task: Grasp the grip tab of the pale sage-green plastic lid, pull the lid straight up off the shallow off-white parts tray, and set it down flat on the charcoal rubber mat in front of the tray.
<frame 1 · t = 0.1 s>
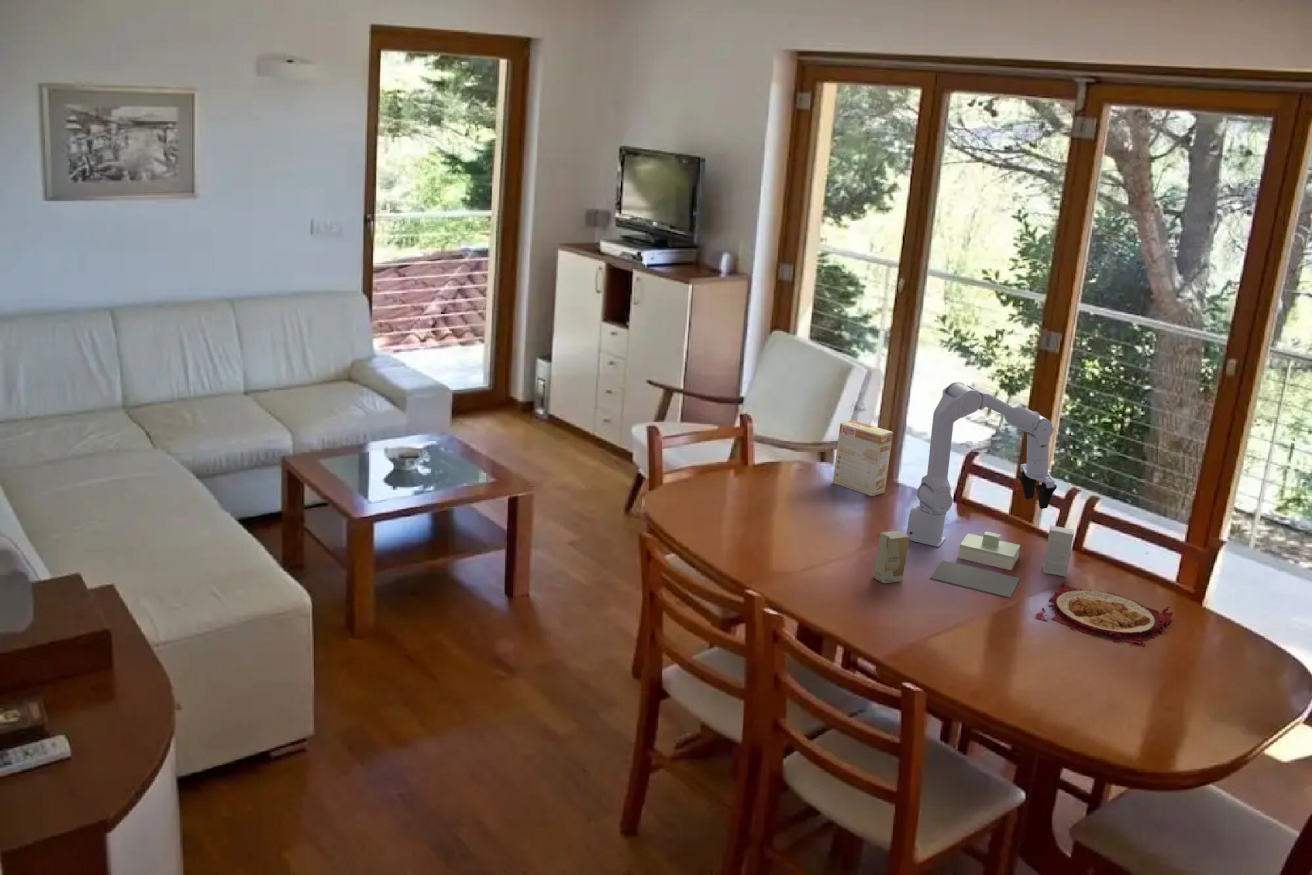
hand: (1036, 503, 337), 11 cm above the table, tool pointing down, fingers open, 7 cm apart
parts tray: (988, 558, 323), on the table
skincare box: (1053, 572, 317), on the table
skincare box 2: (887, 580, 304), on the table
coffeecake box: (858, 488, 371), on the table
plate with food: (1103, 621, 292), on the table
mat: (975, 579, 308), on the table
lid: (989, 547, 322), point 3 cm above the table, touching parts tray
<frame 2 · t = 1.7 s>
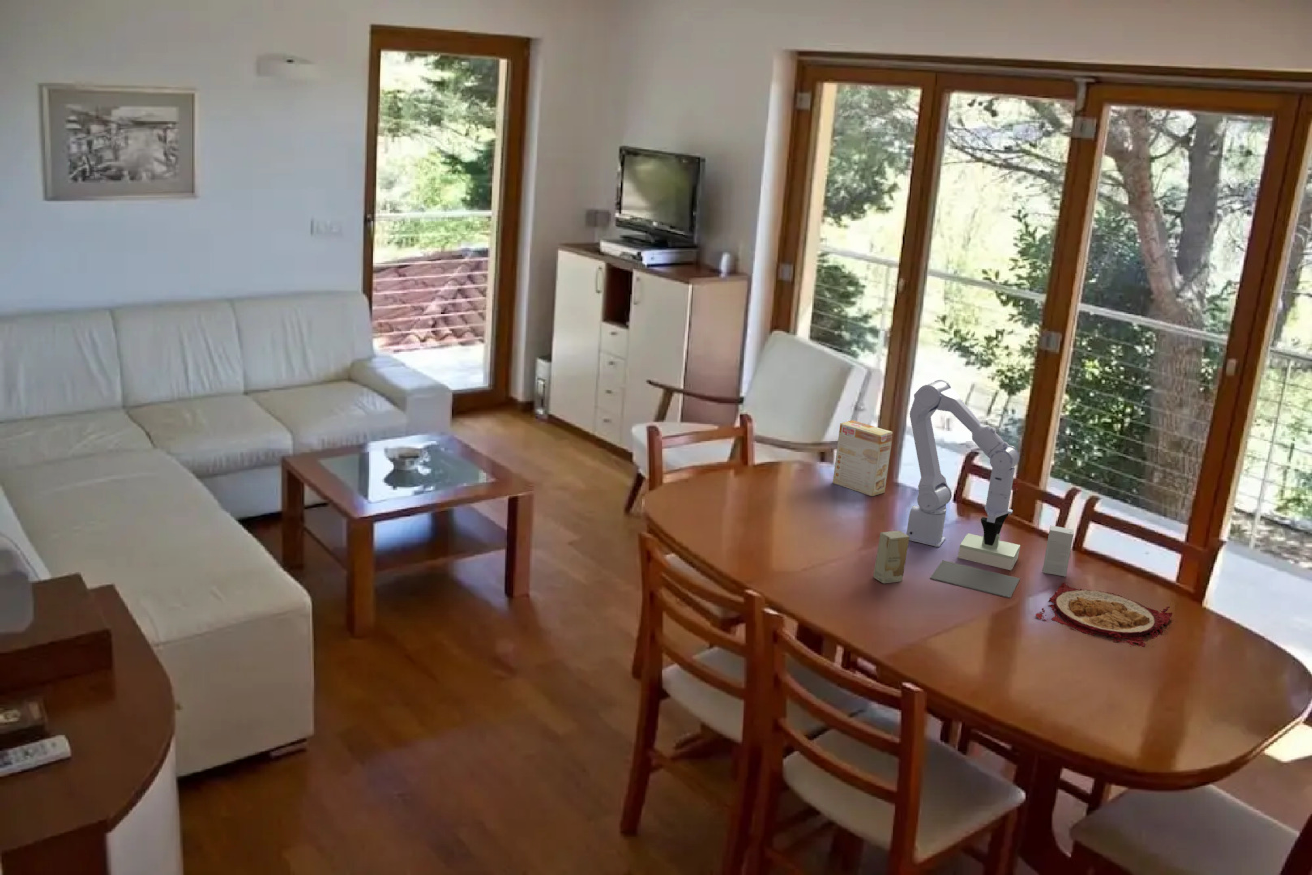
hand: (991, 540, 322), 5 cm above the table, tool pointing down, fingers open, 7 cm apart
nothing on the table moved.
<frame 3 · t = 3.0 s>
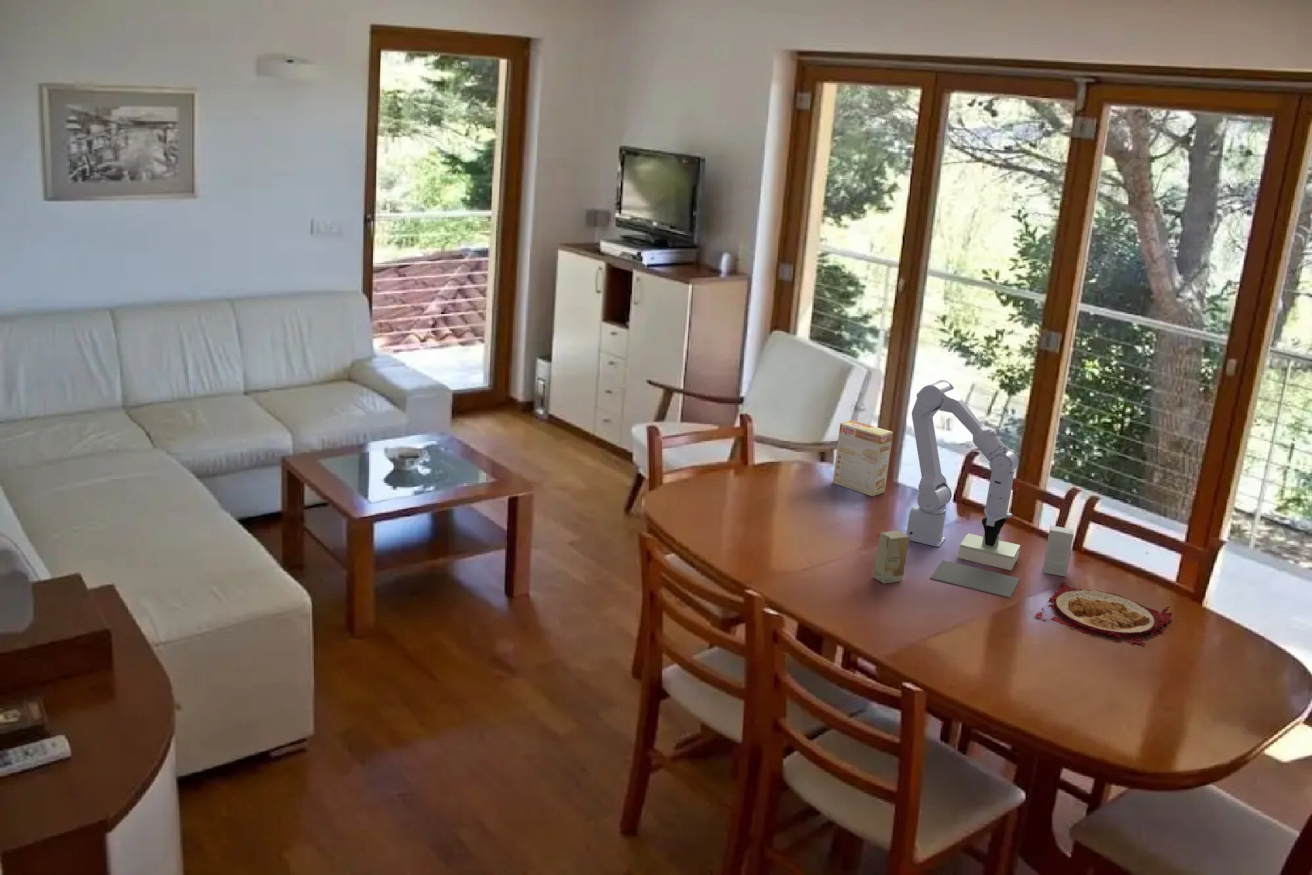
hand: (990, 543, 322), 4 cm above the table, tool pointing down, fingers closed on lid, 2 cm apart
lid: (989, 547, 322), point 3 cm above the table, touching gripper, parts tray
everything else where it was.
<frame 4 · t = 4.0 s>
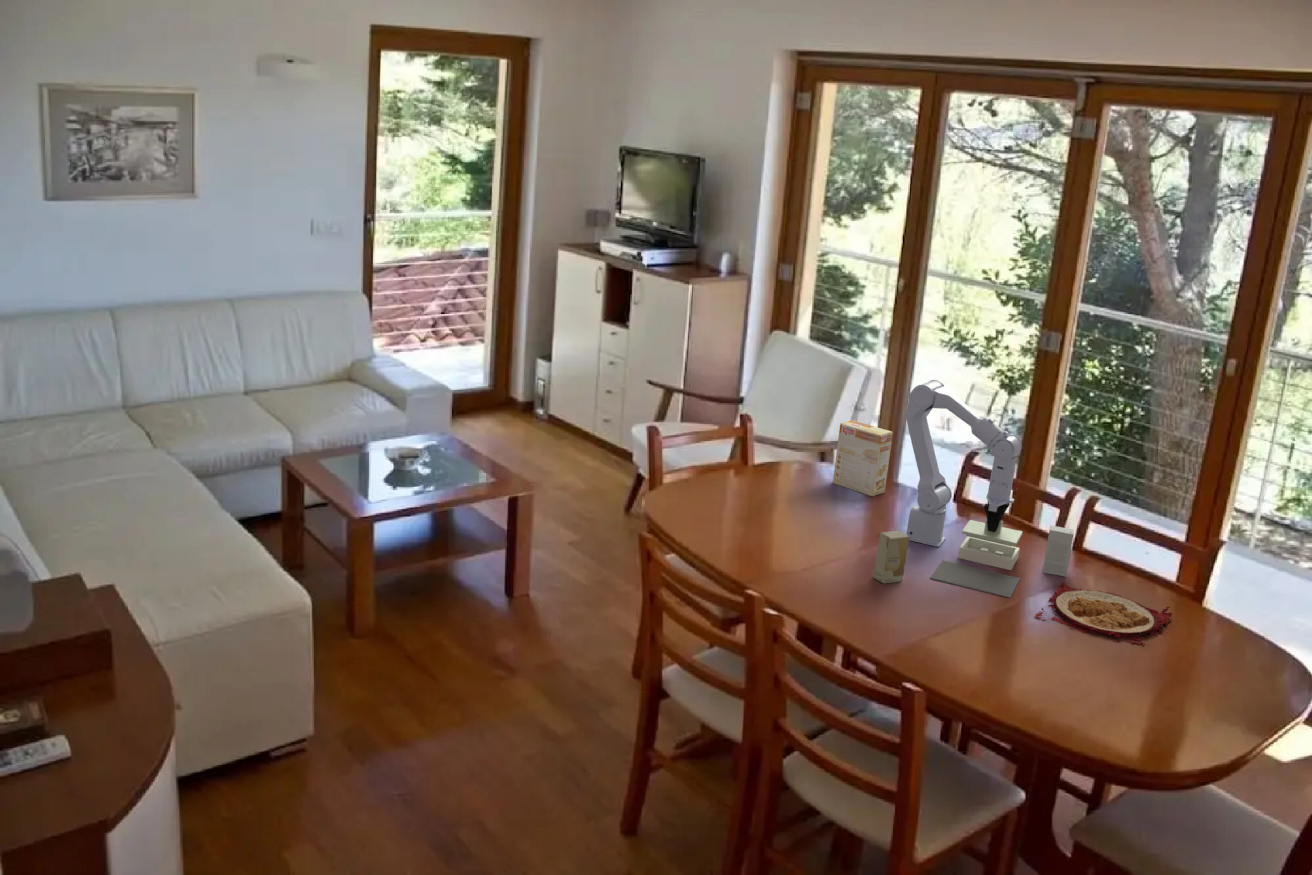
hand: (992, 529, 321), 8 cm above the table, tool pointing down, fingers closed on lid, 2 cm apart
lid: (992, 533, 321), point 7 cm above the table, touching gripper
everything else where it was.
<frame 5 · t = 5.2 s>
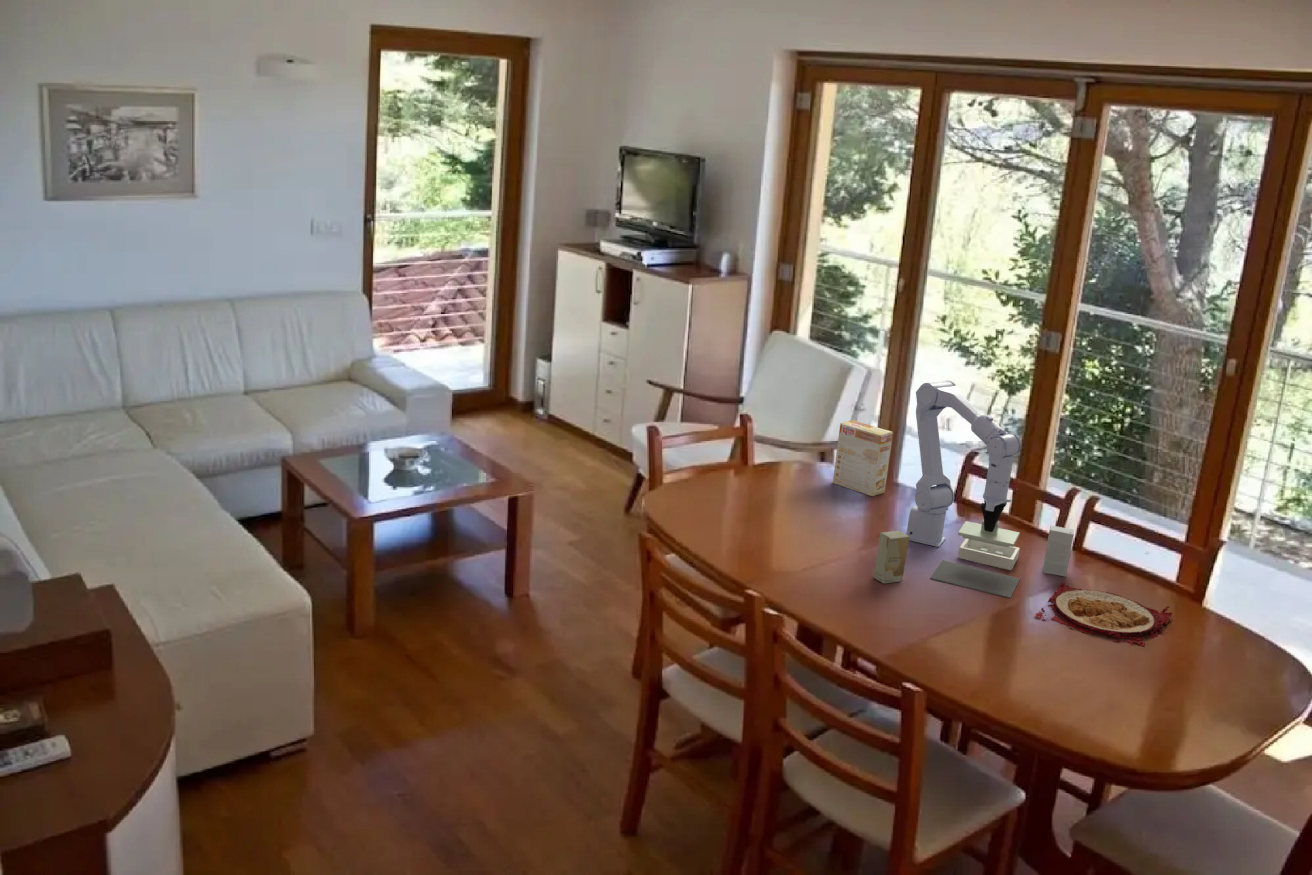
hand: (989, 529, 314), 10 cm above the table, tool pointing down, fingers closed on lid, 2 cm apart
lid: (988, 535, 314), point 9 cm above the table, touching gripper
everything else where it was.
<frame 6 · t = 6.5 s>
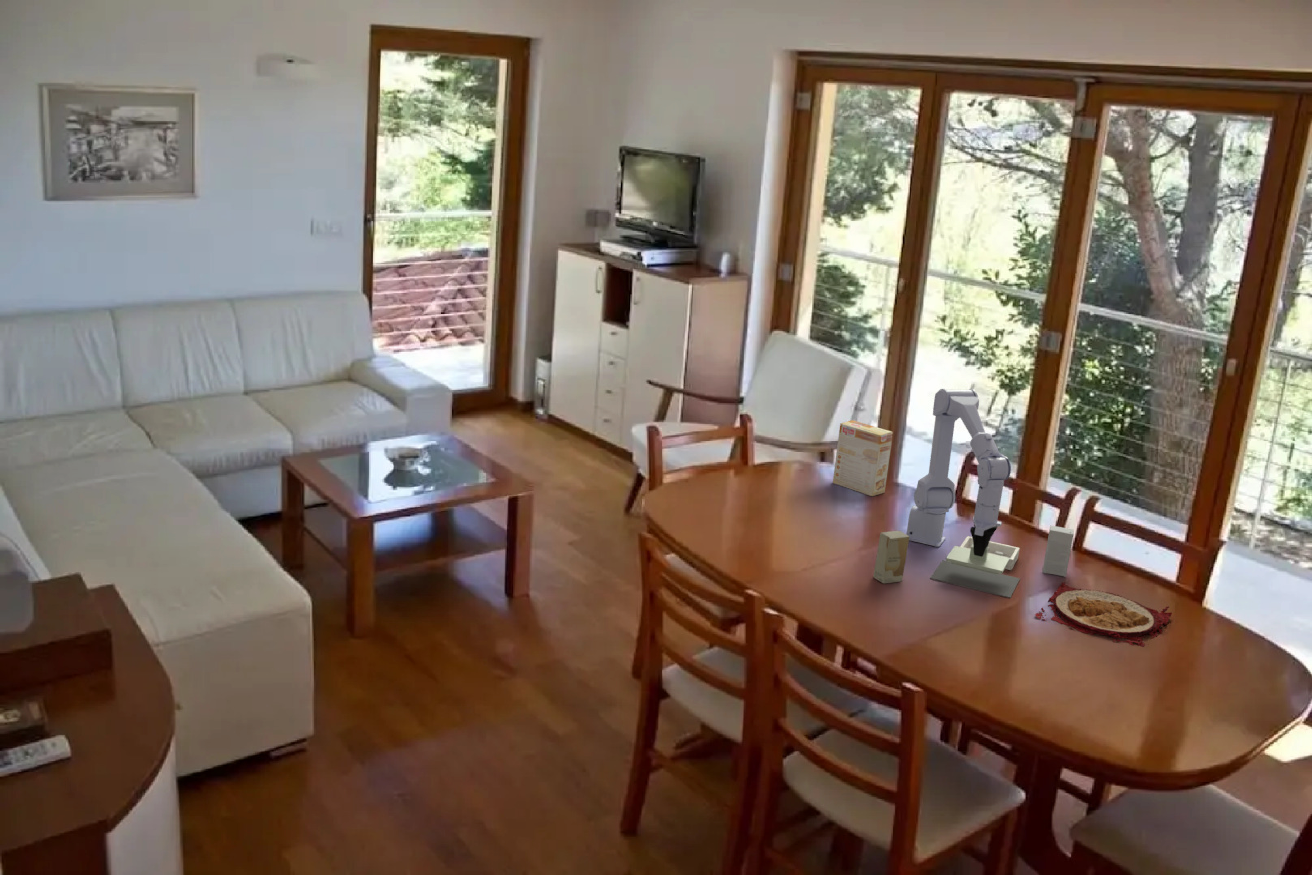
hand: (979, 553, 306), 7 cm above the table, tool pointing down, fingers closed on lid, 2 cm apart
lid: (977, 561, 307), point 5 cm above the table, touching gripper
everything else where it was.
when the fingers open (4 cm above the table, at t = 7.7 s): lid stays where it is, resting on mat.
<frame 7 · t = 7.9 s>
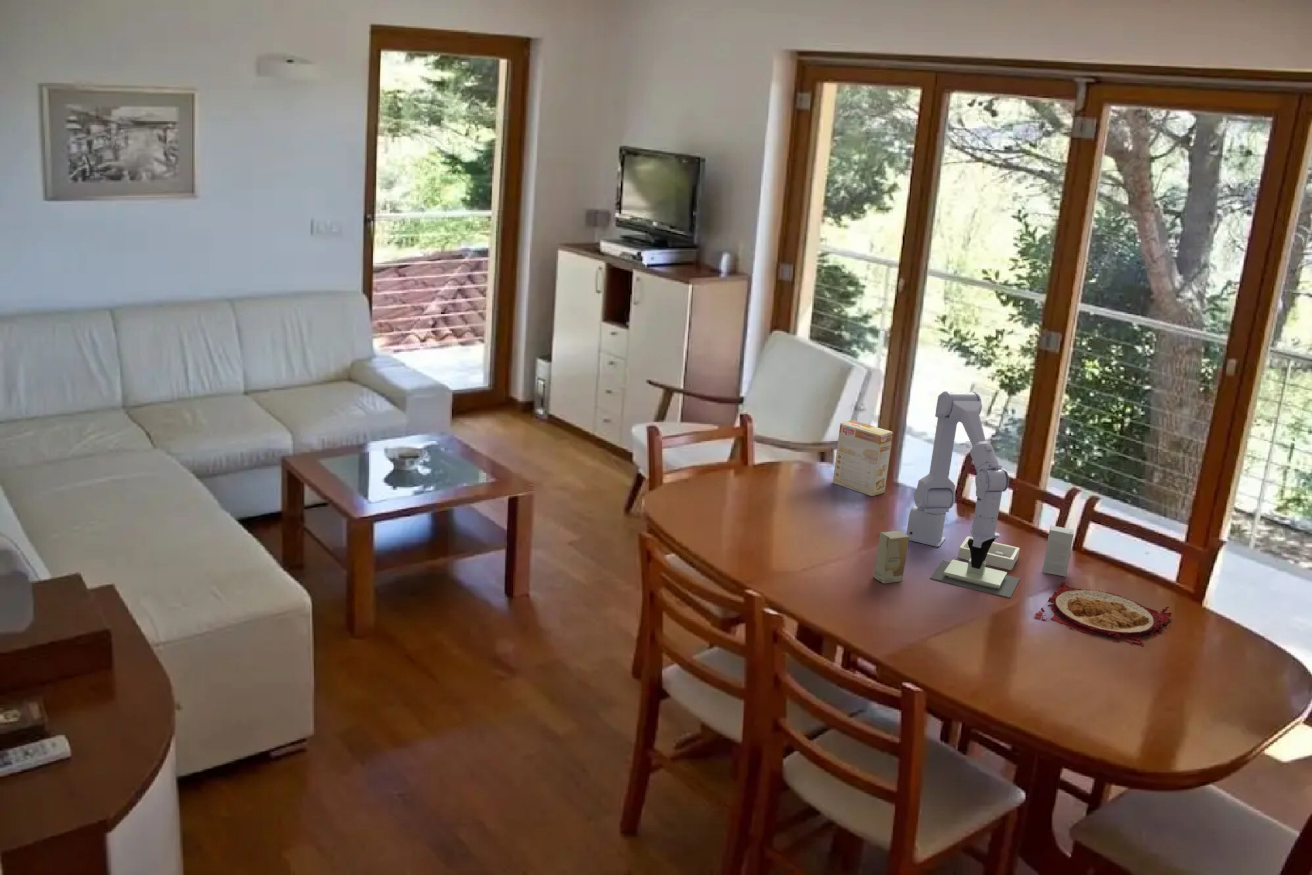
hand: (977, 564, 307), 4 cm above the table, tool pointing down, fingers open, 4 cm apart
lid: (975, 574, 308), point 1 cm above the table, touching mat
everything else where it was.
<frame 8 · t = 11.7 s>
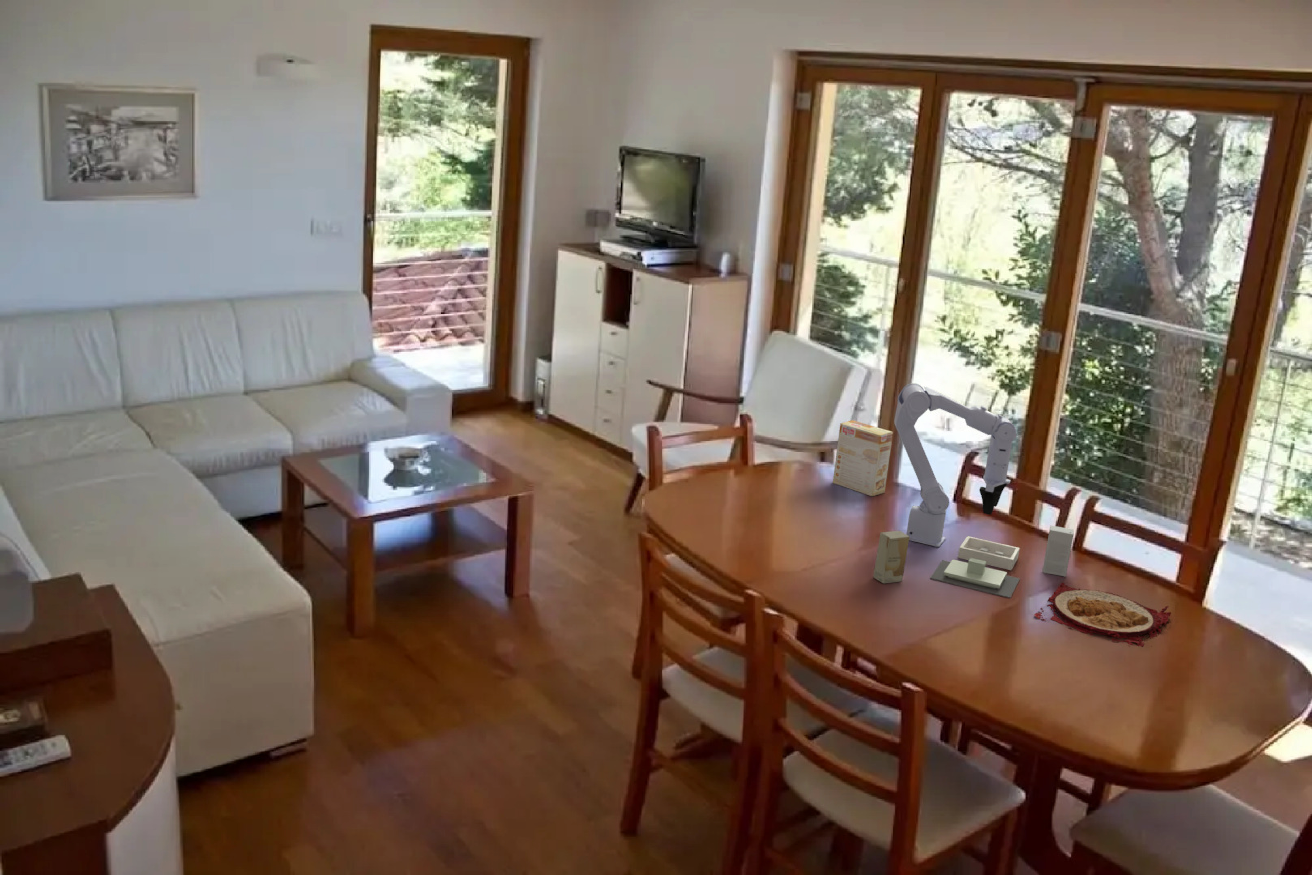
hand: (989, 509, 329), 10 cm above the table, tool pointing down, fingers open, 7 cm apart
nothing on the table moved.
at the end: lid inside the target area on the mat (0.2 cm from its centre), point 1.1 cm above the mat's base; lid tilted 0°; the gripper is holding nothing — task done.
